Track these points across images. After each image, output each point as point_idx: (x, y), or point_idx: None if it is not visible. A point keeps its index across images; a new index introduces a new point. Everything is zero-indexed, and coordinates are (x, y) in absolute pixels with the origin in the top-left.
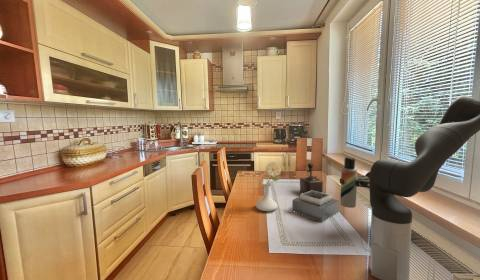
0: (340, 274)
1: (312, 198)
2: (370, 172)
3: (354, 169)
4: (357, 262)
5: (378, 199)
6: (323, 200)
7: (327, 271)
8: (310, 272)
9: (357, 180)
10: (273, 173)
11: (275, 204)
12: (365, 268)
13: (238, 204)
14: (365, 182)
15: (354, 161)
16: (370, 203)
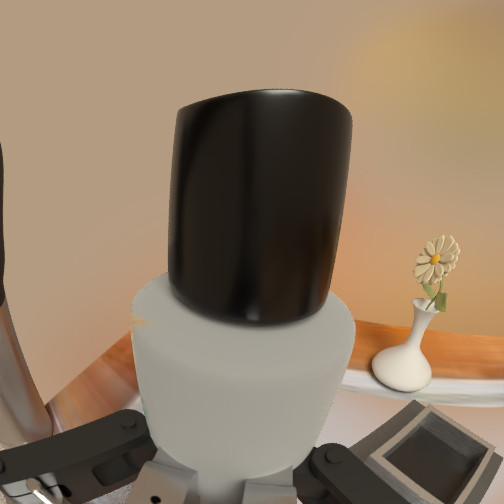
0: (81, 374)
1: (395, 435)
2: (2, 160)
3: (165, 302)
4: (76, 421)
5: None
6: (389, 480)
7: (100, 366)
8: (116, 349)
9: (123, 412)
10: (423, 271)
11: (399, 377)
12: (58, 415)
13: (408, 336)
14: (53, 444)
15: (173, 148)
16: (4, 258)
